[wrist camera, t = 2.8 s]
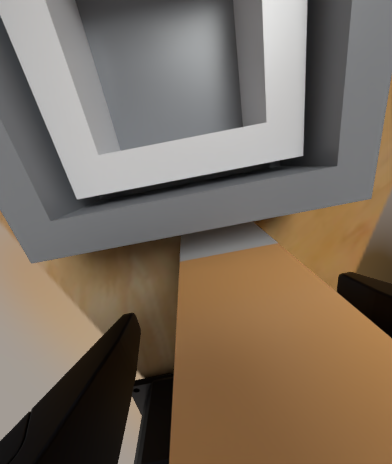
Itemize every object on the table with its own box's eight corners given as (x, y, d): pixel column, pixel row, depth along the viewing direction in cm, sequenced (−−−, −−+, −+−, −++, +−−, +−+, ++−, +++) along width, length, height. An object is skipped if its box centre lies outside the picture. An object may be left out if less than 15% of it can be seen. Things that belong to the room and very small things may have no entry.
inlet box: (297, 185, 9) (371, 198, 6) (91, 224, 10) (31, 263, 6) (304, -175, 6) (543, -856, 2) (-42, -102, 6) (-478, -615, 2)
